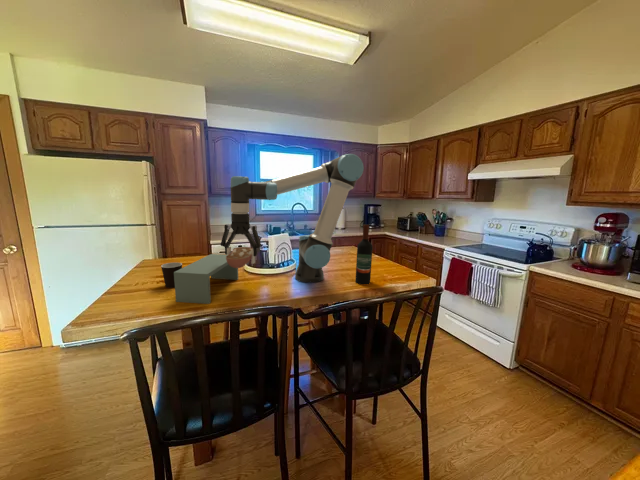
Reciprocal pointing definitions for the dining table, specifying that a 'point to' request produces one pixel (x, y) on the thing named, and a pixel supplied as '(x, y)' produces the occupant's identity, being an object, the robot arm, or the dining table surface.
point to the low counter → (201, 278)
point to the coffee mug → (170, 273)
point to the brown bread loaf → (239, 257)
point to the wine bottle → (364, 258)
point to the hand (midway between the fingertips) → (241, 262)
